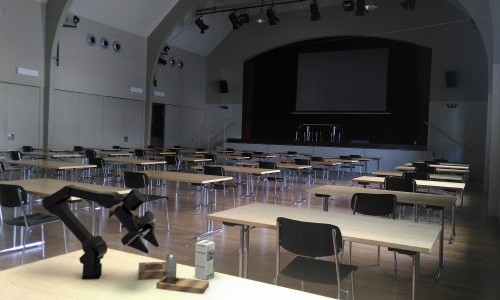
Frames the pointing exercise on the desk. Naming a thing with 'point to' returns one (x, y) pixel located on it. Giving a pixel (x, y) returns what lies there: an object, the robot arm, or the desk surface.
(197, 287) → the brown wooden board
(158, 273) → the socket block
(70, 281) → the desk surface
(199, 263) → the syrup box
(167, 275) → the axle
